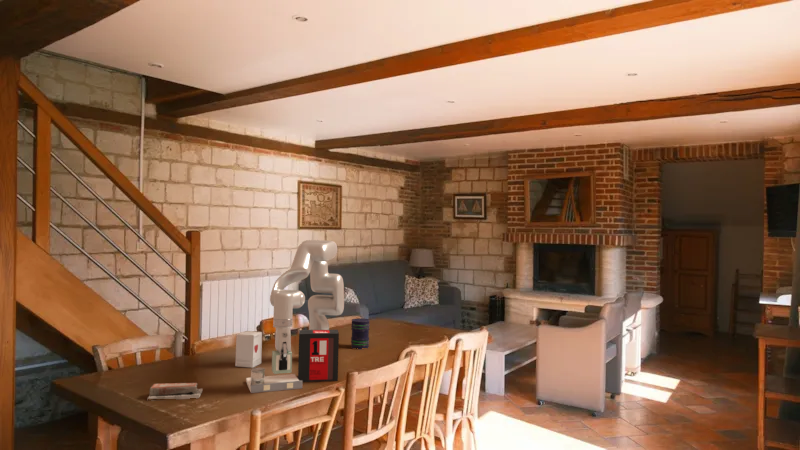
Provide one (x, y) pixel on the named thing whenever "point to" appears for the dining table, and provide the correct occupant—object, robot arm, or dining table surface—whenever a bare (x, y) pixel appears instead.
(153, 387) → the notched trowel
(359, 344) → the storage jar
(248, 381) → the board
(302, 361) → the cleaning product box
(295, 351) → the dining table surface
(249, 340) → the supplement box
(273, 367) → the tea box
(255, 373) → the clear glass cup
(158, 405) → the dining table surface
